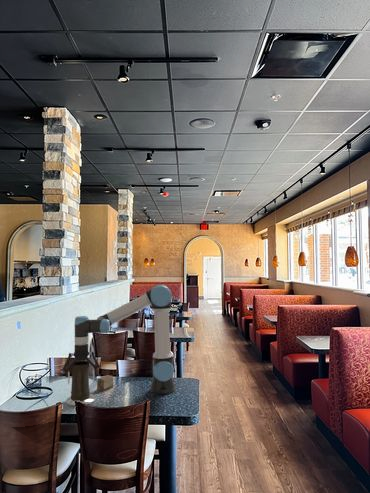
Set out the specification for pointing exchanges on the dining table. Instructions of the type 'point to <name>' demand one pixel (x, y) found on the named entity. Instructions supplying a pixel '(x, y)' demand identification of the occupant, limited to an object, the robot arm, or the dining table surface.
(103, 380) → the menu block
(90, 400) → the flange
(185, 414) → the dining table surface
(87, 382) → the beer stein
